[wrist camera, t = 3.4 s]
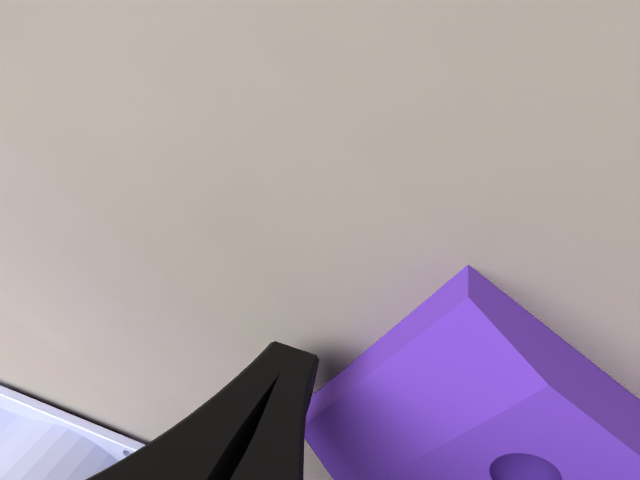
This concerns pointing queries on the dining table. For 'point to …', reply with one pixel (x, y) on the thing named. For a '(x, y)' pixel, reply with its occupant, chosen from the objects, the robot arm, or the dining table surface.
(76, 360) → the dining table surface
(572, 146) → the dining table surface
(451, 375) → the purple holed block
